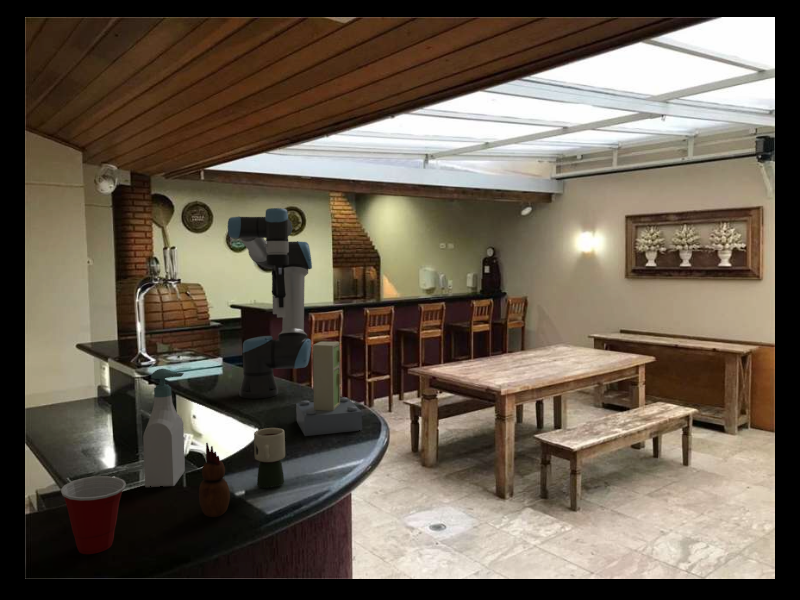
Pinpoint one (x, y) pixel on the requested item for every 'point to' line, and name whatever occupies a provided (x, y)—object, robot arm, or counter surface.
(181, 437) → the white spray bottle
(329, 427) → the base brick
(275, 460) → the character mug
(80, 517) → the plastic cup
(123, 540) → the counter surface
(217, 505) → the wooden figurine
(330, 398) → the toy refrigerator
